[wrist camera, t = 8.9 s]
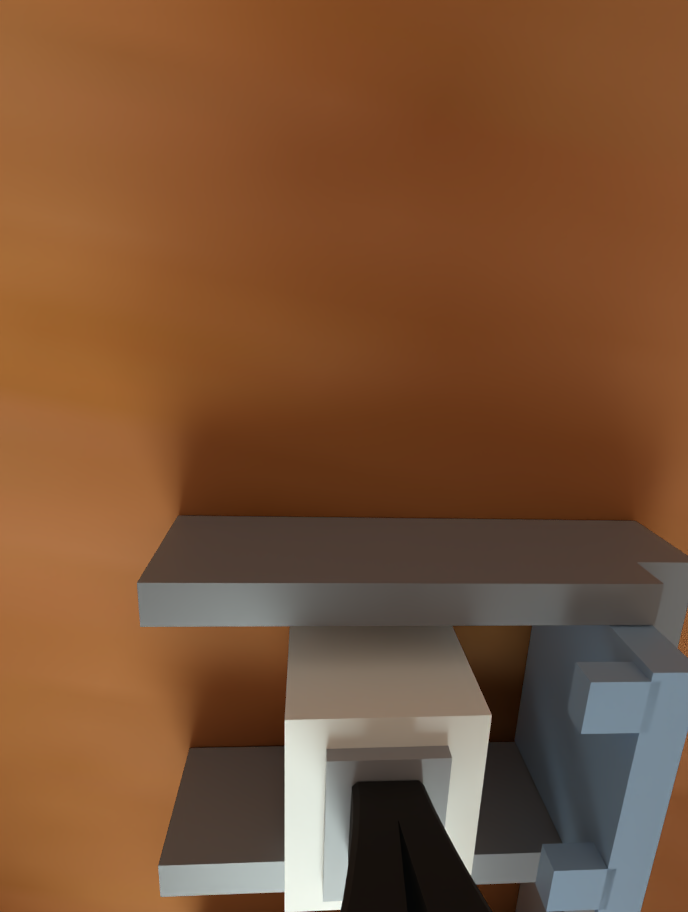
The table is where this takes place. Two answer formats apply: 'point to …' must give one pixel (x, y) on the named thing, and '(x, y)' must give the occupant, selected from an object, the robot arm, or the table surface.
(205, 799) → the e-shaped shelf rack
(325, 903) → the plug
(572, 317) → the table surface
